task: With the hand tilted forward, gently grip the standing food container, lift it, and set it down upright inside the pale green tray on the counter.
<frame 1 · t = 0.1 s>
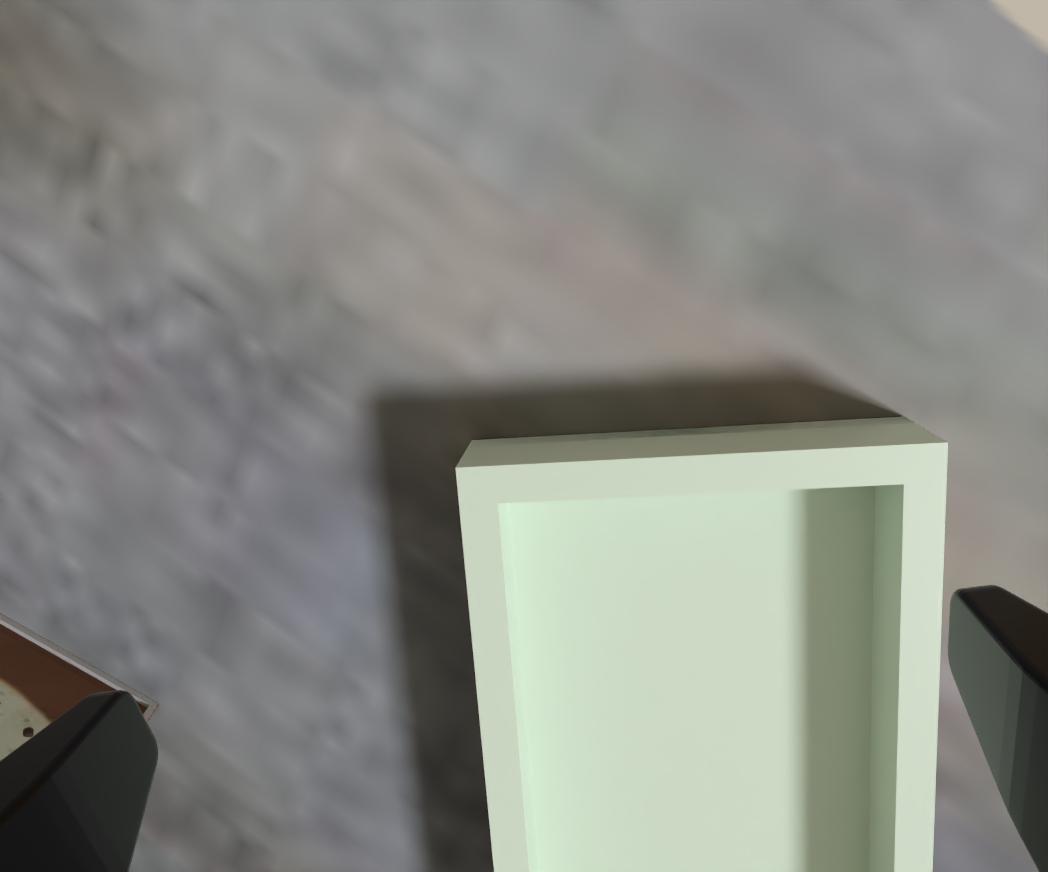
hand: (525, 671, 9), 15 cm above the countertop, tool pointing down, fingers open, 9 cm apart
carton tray: (692, 717, 26), on the countertop
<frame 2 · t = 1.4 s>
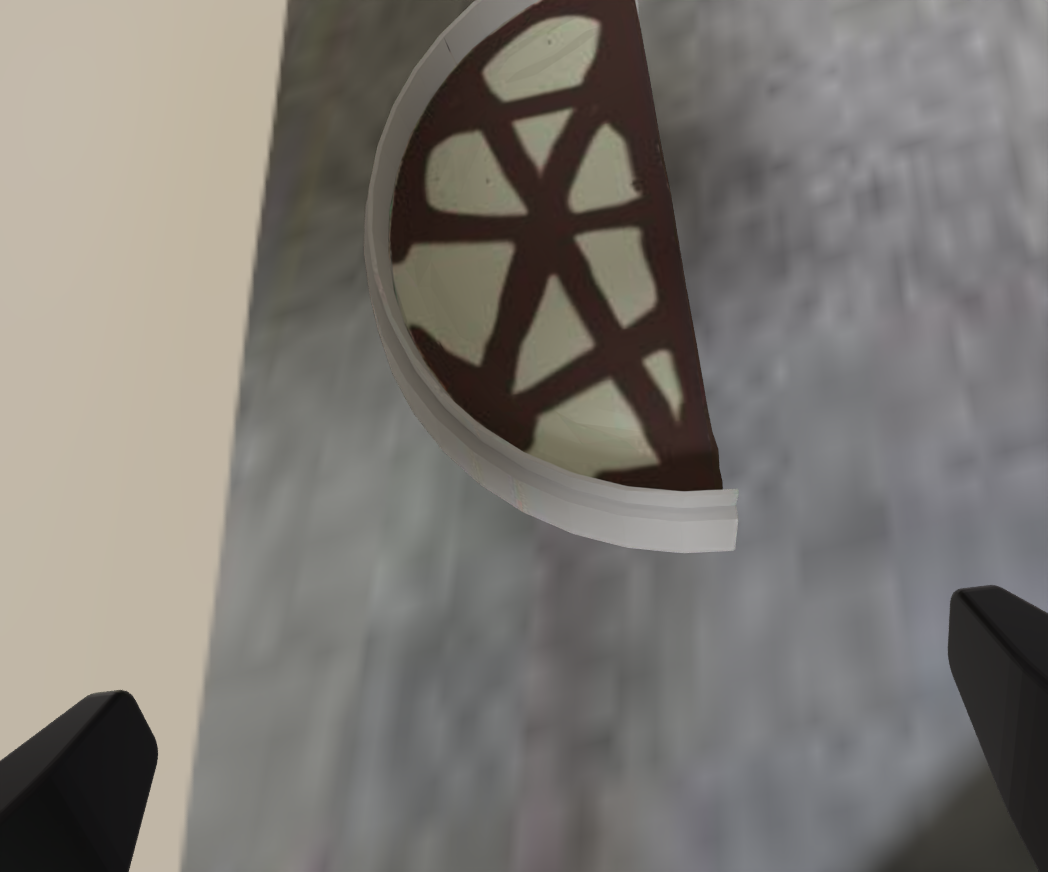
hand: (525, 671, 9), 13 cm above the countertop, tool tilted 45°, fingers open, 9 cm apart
food container: (566, 398, 25), on the countertop
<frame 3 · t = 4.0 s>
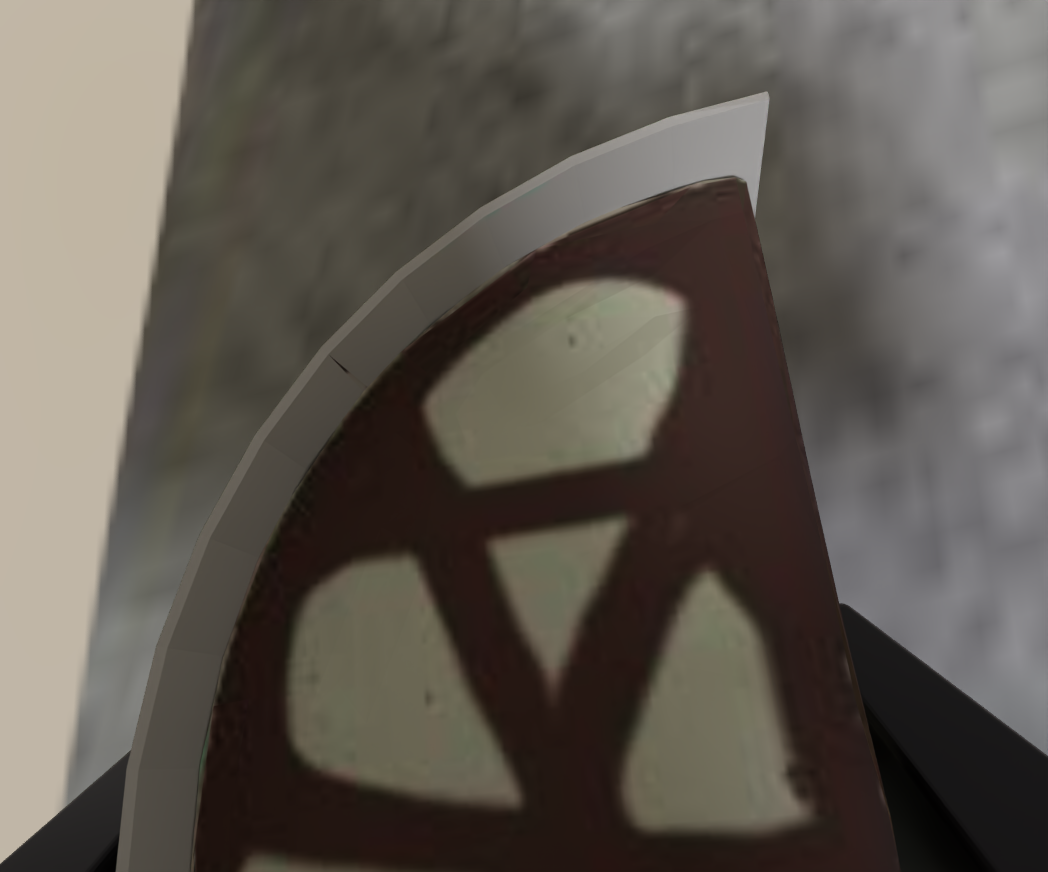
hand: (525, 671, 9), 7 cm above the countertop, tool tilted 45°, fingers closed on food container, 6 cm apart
food container: (588, 767, 15), on the countertop, touching gripper
when the fingers open (9 cm above the countertop, at t = 9.3 s): food container drops 1 cm, resting on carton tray.
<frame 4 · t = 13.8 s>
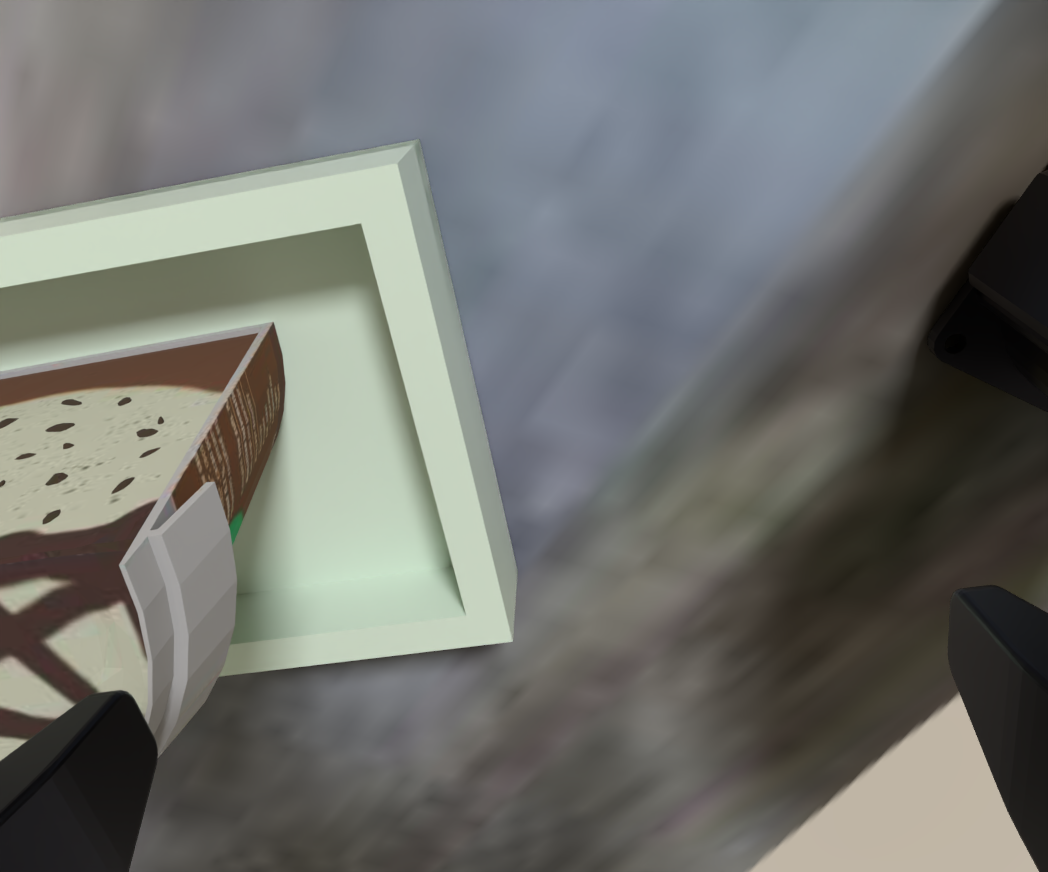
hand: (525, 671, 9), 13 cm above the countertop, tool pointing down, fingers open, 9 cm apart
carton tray: (144, 432, 23), on the countertop
food container: (145, 458, 23), point 1 cm above the countertop, touching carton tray
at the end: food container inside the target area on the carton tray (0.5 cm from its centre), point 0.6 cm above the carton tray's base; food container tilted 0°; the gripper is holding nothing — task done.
